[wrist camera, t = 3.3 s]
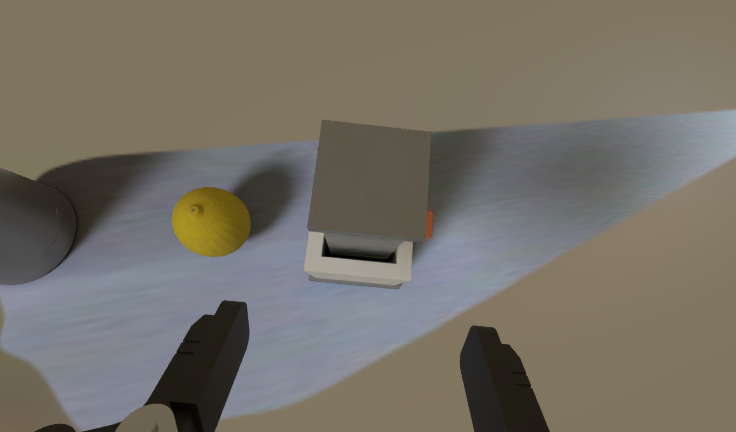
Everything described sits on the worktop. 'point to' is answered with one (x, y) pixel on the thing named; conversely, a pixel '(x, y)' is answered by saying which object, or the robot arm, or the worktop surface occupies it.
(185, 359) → the robot arm
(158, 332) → the worktop surface
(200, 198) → the lemon
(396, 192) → the column
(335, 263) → the stand
